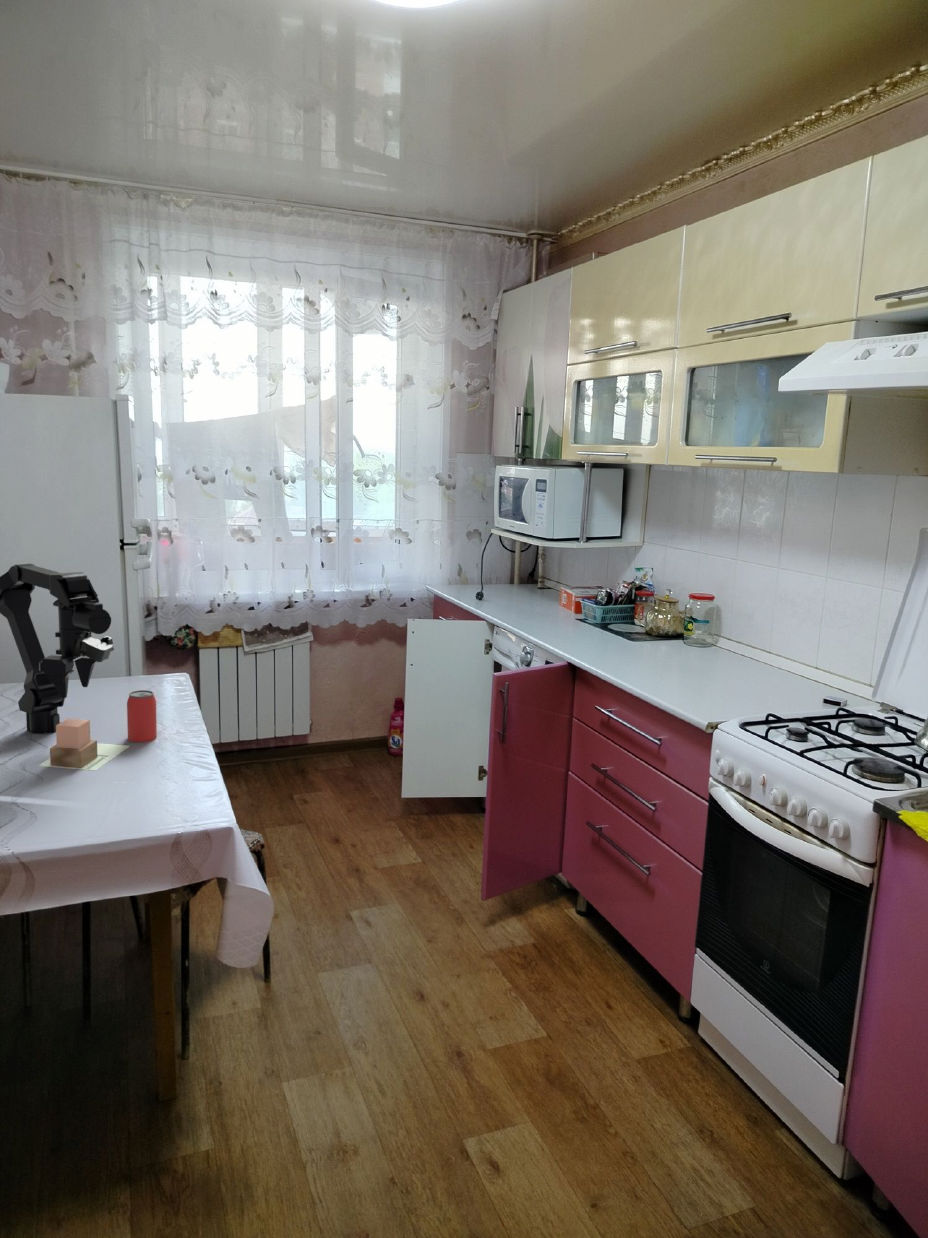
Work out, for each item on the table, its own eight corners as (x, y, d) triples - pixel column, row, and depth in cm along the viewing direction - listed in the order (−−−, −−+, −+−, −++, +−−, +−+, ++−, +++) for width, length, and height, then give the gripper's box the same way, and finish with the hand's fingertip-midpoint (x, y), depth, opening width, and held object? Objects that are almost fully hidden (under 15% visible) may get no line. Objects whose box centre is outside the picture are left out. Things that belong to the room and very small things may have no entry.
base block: (50, 765, 185) (49, 748, 185) (67, 754, 192) (67, 738, 191) (81, 768, 185) (80, 750, 184) (97, 757, 192) (97, 740, 191)
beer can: (147, 746, 202) (146, 698, 200) (122, 743, 203) (120, 695, 201) (162, 738, 208) (161, 691, 206) (137, 735, 210) (136, 688, 207)
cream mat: (38, 769, 185) (38, 765, 185) (77, 744, 201) (76, 741, 201) (95, 773, 184) (95, 770, 184) (130, 749, 200) (130, 745, 200)
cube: (56, 747, 185) (55, 725, 184) (68, 739, 190) (68, 718, 189) (78, 749, 185) (78, 727, 184) (90, 741, 190) (89, 720, 189)
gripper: (85, 638, 185) (87, 706, 189) (125, 622, 204) (127, 684, 207) (36, 634, 186) (39, 702, 189) (81, 618, 205) (83, 681, 208)
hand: (74, 692), depth 198 cm, fingers open, 9 cm apart
